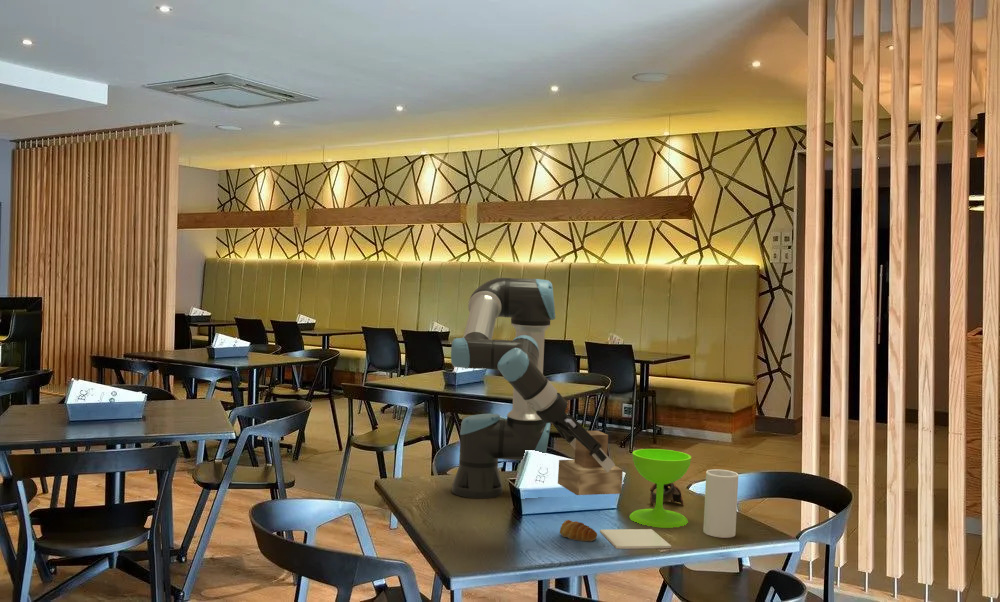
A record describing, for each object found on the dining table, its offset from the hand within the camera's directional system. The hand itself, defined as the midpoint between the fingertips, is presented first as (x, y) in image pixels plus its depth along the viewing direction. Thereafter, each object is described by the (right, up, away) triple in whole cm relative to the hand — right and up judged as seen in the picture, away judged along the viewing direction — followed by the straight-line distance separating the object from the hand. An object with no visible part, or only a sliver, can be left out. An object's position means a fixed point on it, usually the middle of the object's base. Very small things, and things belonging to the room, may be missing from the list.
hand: (599, 462), depth 222 cm
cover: (-3, -6, -1) cm, 7 cm away
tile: (+9, -20, +1) cm, 22 cm away
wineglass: (+19, -20, +21) cm, 35 cm away
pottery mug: (+24, -20, +39) cm, 49 cm away
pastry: (-5, -20, +2) cm, 20 cm away
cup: (+33, -21, +11) cm, 40 cm away
